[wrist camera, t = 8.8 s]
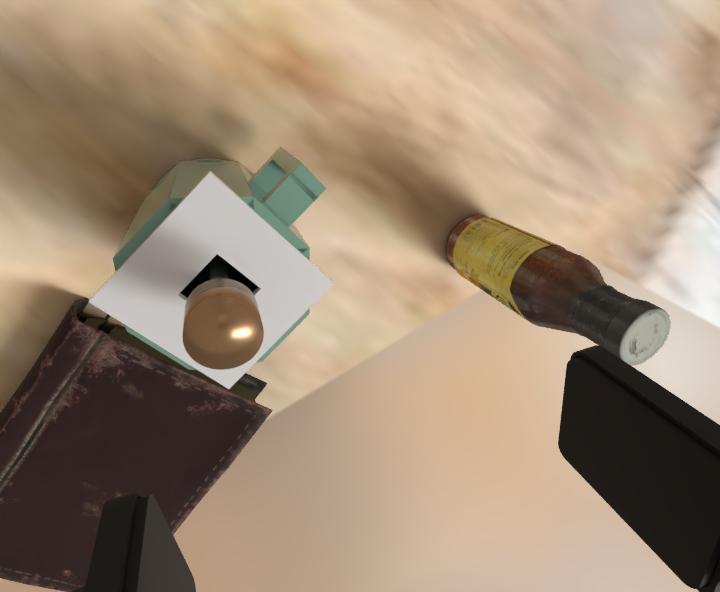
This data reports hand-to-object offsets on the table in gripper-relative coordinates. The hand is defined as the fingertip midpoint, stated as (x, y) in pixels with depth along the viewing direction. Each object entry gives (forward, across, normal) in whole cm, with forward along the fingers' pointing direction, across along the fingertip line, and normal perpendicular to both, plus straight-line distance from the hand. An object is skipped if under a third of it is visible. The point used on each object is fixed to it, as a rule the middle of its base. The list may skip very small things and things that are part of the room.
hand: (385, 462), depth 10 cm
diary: (+31, +18, +21) cm, 42 cm away
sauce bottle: (+31, -20, +10) cm, 38 cm away
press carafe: (+31, +2, +2) cm, 31 cm away
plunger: (+27, +4, +2) cm, 27 cm away
